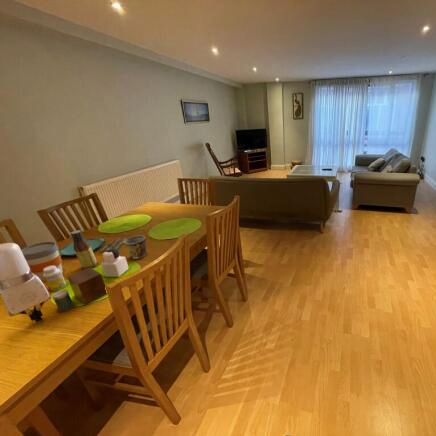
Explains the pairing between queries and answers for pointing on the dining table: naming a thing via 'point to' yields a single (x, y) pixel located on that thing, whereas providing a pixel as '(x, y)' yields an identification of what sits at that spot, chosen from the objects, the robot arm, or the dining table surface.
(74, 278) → the box
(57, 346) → the dining table surface
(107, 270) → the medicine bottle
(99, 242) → the cutlery set
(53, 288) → the supplement bottle
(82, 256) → the sauce bottle
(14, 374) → the dining table surface
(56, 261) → the reusable coffee cup
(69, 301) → the cylinder
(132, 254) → the ceramic cup
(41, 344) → the dining table surface
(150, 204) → the dining table surface
